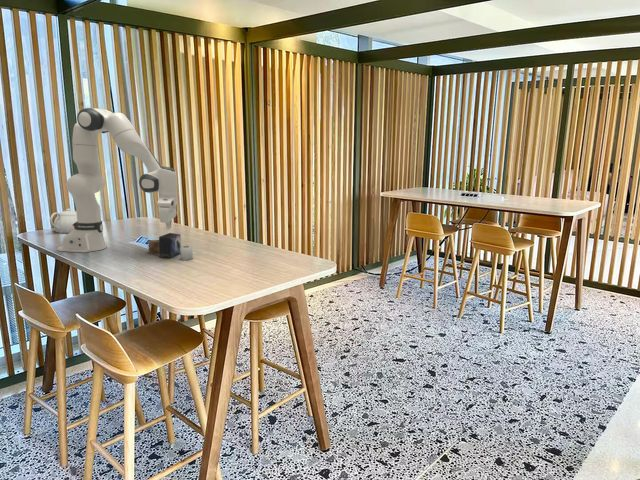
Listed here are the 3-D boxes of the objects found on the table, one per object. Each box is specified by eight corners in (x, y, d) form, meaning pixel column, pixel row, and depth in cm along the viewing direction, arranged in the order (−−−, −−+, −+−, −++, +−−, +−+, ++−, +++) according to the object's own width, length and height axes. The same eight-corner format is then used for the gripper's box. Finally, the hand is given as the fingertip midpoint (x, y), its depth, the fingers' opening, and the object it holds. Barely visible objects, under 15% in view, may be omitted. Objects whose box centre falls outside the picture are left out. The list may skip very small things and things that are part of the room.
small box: (171, 258, 223) (170, 237, 221) (158, 257, 225) (157, 236, 222) (181, 253, 233) (181, 233, 231) (170, 252, 235) (169, 232, 232)
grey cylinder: (179, 260, 221) (179, 247, 220) (181, 257, 226) (181, 245, 225) (191, 260, 222) (190, 248, 220) (193, 257, 227) (193, 245, 226)
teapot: (53, 229, 281) (51, 207, 278) (87, 227, 289) (85, 206, 286) (50, 235, 265) (48, 211, 262) (86, 233, 272) (84, 210, 270)
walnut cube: (148, 254, 230) (148, 242, 229) (148, 251, 236) (148, 239, 234) (161, 253, 232) (161, 241, 231) (161, 250, 238) (160, 239, 236)
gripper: (166, 197, 233) (167, 224, 236) (156, 203, 213) (156, 232, 216) (179, 198, 233) (179, 224, 236) (170, 203, 214) (170, 232, 217)
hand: (168, 228), depth 226 cm, fingers closed
